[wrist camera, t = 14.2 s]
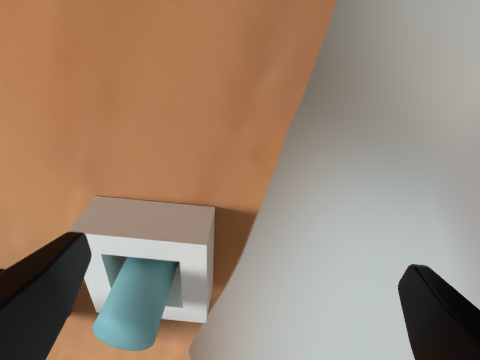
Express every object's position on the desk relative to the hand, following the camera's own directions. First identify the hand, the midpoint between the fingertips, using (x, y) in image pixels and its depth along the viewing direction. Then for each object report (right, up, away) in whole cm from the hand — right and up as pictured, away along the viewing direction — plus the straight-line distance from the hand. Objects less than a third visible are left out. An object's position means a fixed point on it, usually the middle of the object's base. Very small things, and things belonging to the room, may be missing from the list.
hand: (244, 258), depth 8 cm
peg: (-7, -3, +17) cm, 19 cm away
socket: (-7, -3, +17) cm, 19 cm away
